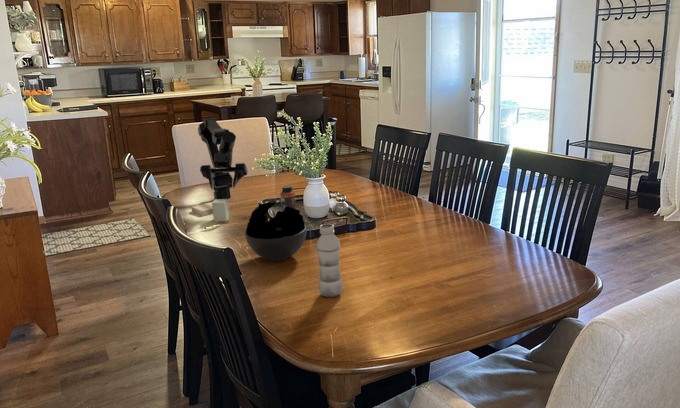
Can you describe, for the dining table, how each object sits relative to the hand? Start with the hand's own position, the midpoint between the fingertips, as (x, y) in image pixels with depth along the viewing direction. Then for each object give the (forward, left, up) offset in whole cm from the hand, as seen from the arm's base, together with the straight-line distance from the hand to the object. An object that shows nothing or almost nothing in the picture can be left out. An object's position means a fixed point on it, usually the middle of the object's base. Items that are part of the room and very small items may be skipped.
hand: (222, 187), depth 234 cm
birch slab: (+3, -11, -11) cm, 16 cm away
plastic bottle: (+15, +92, -13) cm, 94 cm away
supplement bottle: (-22, +15, -13) cm, 29 cm away
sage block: (+4, +5, -13) cm, 14 cm away
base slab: (+2, -11, -13) cm, 17 cm away
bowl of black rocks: (+10, +57, -13) cm, 60 cm away
